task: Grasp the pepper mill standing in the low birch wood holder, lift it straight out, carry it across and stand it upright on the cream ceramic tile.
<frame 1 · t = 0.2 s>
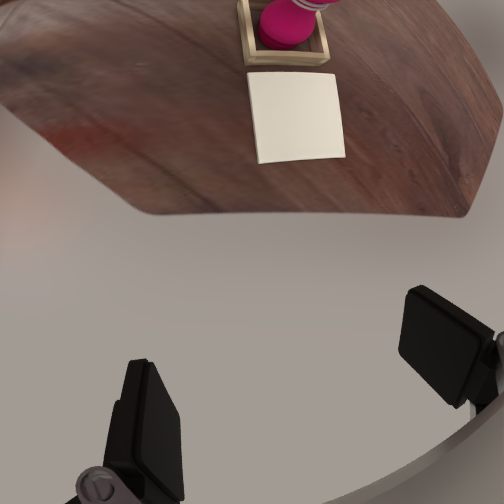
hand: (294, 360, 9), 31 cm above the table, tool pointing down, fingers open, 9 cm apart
tile: (297, 115, 36), on the table
pepper mill: (277, 34, 32), resting in holder
holder: (278, 34, 32), on the table
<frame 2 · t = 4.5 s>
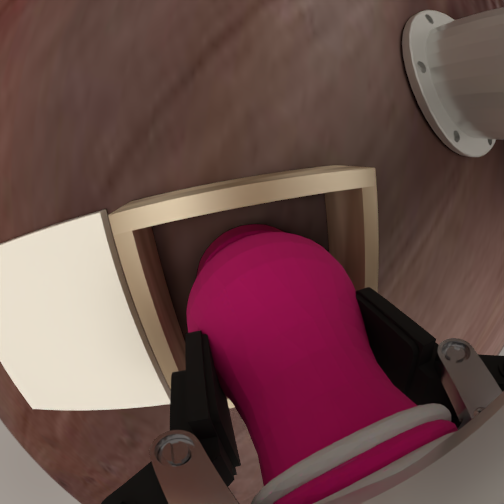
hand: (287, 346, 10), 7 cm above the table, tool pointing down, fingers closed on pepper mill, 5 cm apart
tile: (53, 331, 14), on the table
pepper mill: (251, 276, 16), resting in holder, touching gripper
holder: (252, 278, 16), on the table
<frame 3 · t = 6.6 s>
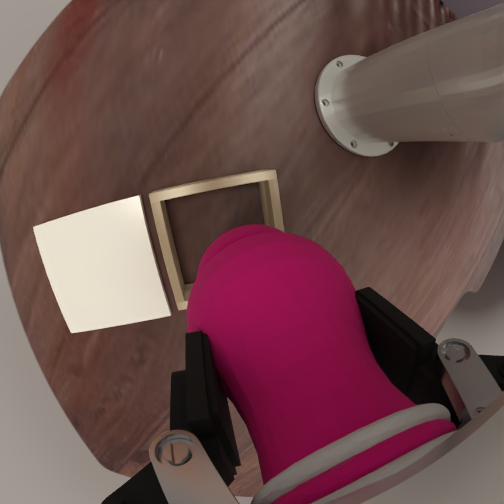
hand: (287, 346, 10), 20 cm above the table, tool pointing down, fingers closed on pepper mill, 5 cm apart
tile: (100, 269, 27), on the table
pepper mill: (251, 276, 16), point 13 cm above the table, touching gripper
holder: (219, 232, 29), on the table
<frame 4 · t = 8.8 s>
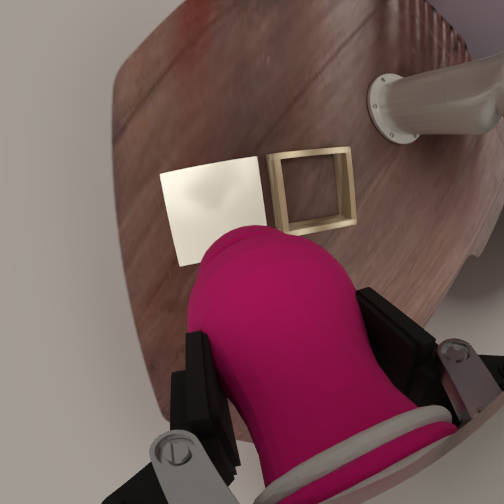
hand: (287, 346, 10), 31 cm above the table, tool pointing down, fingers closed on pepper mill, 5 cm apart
tile: (216, 210, 38), on the table
pepper mill: (252, 277, 16), point 24 cm above the table, touching gripper
holder: (307, 187, 40), on the table
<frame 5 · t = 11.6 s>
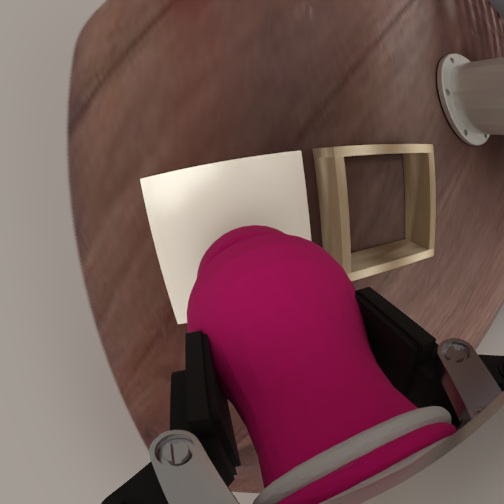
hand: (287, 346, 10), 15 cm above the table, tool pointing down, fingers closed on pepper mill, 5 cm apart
tile: (233, 238, 24), on the table
pepper mill: (251, 277, 16), point 8 cm above the table, touching gripper
holder: (369, 201, 25), on the table
when the fingers open (9 cm above the table, at t = 13.4 s): pepper mill drops 1 cm, resting on tile.
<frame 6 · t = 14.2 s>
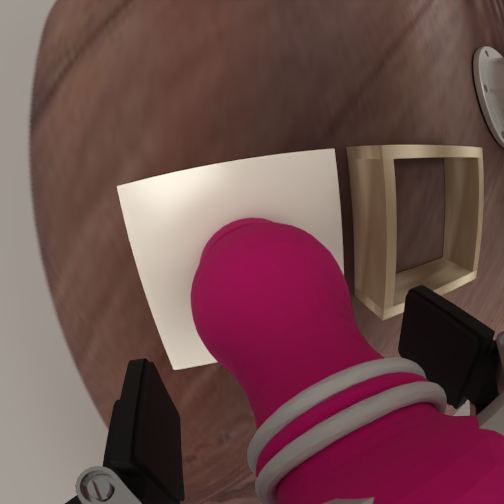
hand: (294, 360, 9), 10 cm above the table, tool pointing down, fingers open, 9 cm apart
tile: (244, 263, 18), on the table
pepper mill: (250, 266, 17), point 1 cm above the table, touching tile
holder: (409, 214, 20), on the table
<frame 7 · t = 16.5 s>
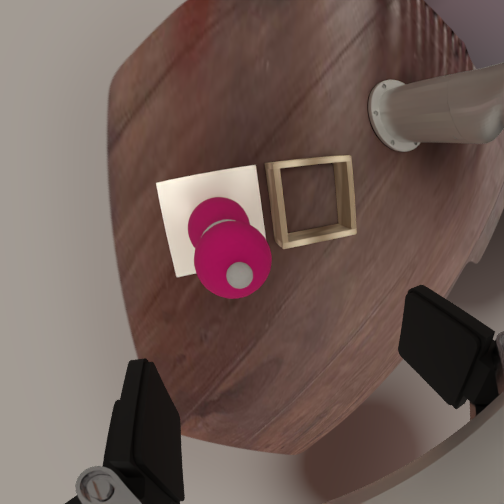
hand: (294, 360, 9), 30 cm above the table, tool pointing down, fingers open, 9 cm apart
tile: (213, 220, 38), on the table
pepper mill: (215, 220, 37), point 1 cm above the table, touching tile
holder: (307, 197, 39), on the table
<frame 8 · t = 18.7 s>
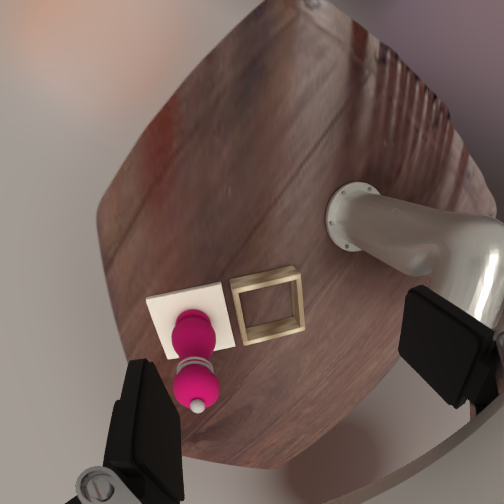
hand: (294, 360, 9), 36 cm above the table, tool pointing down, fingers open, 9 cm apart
tile: (192, 322, 48), on the table
pepper mill: (193, 323, 47), point 1 cm above the table, touching tile
holder: (265, 300, 50), on the table
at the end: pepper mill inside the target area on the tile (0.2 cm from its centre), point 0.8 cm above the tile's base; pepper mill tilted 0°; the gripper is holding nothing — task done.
